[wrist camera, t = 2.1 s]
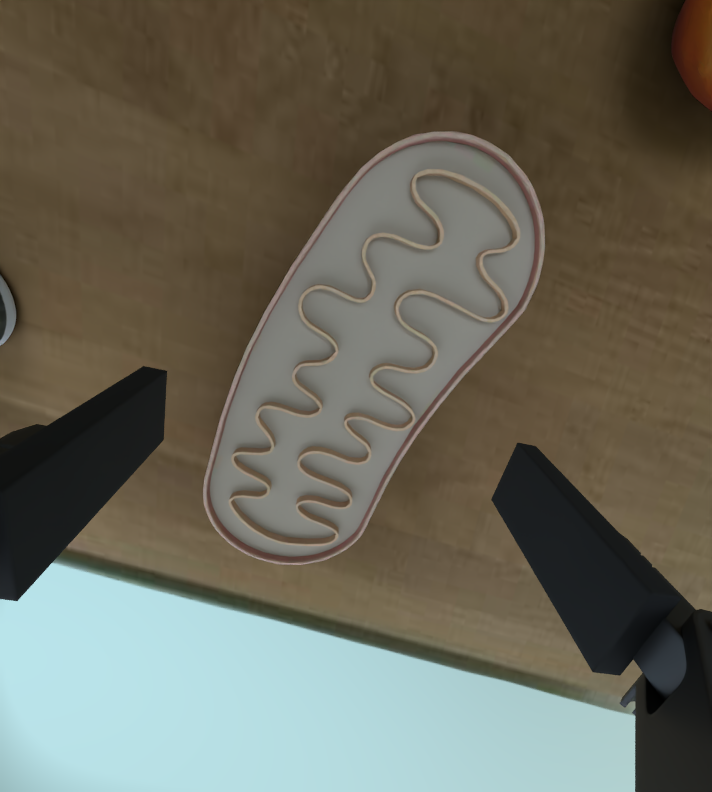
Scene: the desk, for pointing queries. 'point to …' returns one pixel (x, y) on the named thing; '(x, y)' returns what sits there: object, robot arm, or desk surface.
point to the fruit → (694, 48)
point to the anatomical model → (370, 342)
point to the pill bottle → (6, 312)
